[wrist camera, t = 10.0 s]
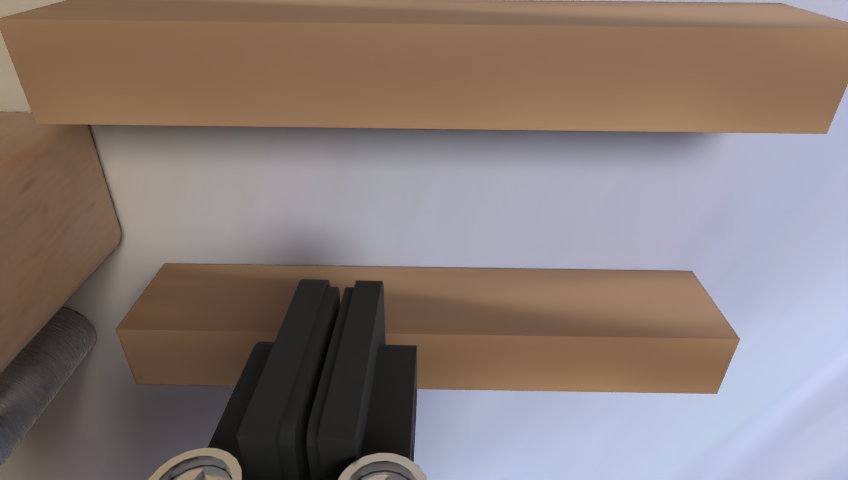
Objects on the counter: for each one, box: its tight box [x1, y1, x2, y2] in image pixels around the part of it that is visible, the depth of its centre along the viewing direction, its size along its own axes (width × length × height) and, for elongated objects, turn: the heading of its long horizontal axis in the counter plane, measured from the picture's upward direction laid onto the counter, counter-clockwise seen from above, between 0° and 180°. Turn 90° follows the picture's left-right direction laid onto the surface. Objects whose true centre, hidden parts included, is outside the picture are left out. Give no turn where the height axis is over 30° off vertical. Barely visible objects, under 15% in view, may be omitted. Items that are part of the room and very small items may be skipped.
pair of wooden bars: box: [0, 0, 848, 394], centre depth 14 cm, size 10×16×3 cm, turn 89°
